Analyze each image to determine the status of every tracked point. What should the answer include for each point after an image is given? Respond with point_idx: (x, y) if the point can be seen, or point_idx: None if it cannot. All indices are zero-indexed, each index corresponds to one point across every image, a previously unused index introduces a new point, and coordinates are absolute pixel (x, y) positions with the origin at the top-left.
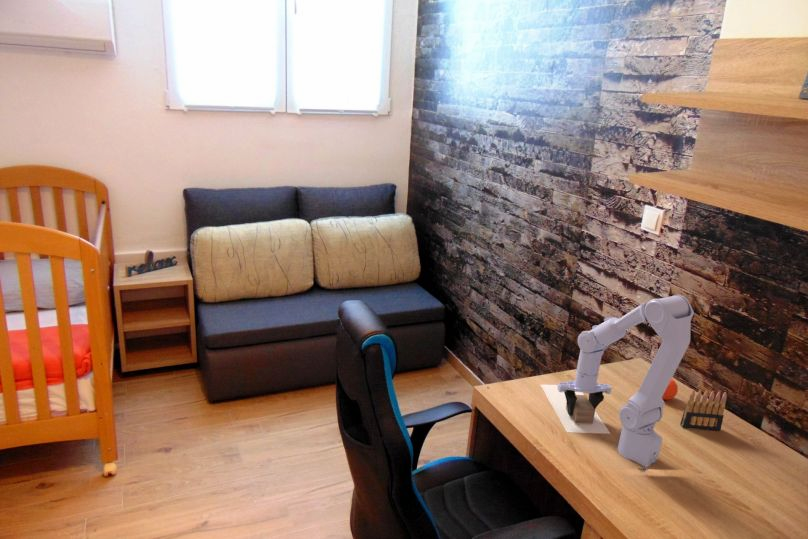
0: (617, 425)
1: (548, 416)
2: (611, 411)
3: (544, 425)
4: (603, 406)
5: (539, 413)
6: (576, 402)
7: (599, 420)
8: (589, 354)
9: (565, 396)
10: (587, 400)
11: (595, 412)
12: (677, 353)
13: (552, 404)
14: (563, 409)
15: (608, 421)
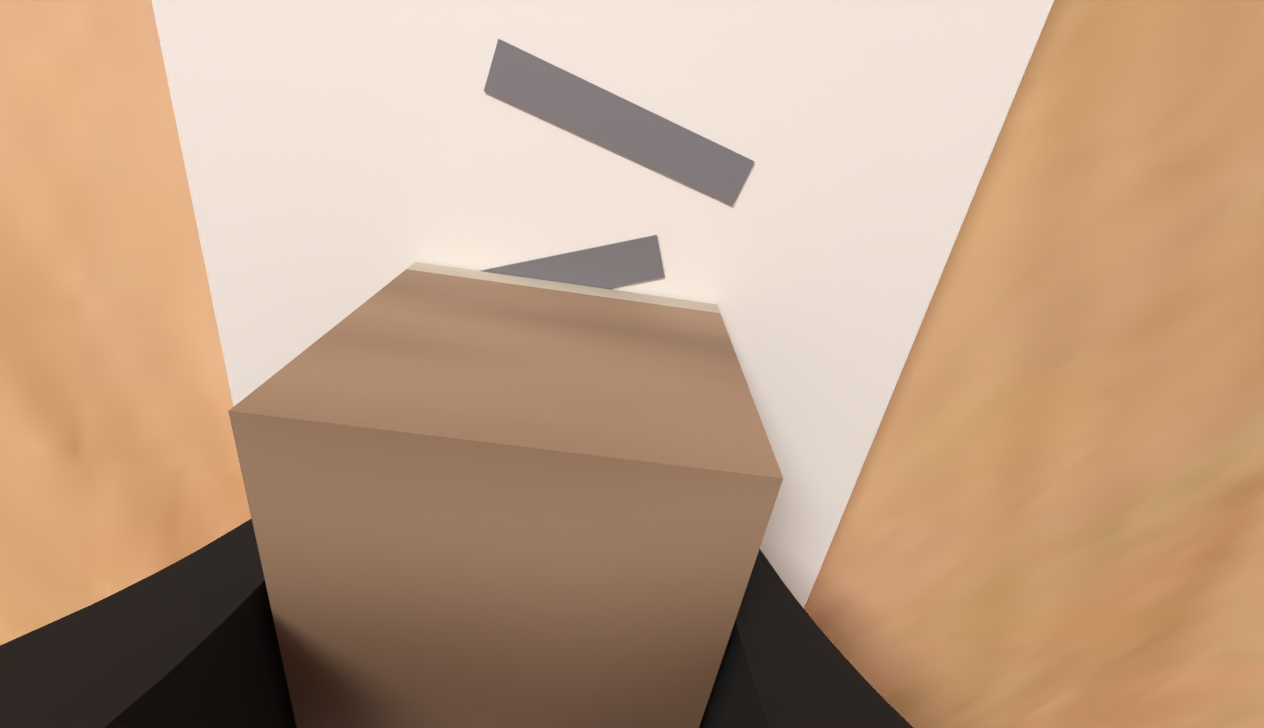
0: (987, 558)
1: (156, 317)
2: (1220, 277)
3: (89, 490)
4: (1244, 110)
5: (11, 227)
6: (374, 708)
7: (793, 563)
8: None
9: (32, 647)
10: (683, 673)
11: (878, 401)
12: None
13: (184, 81)
14: (372, 277)
15: (947, 487)
